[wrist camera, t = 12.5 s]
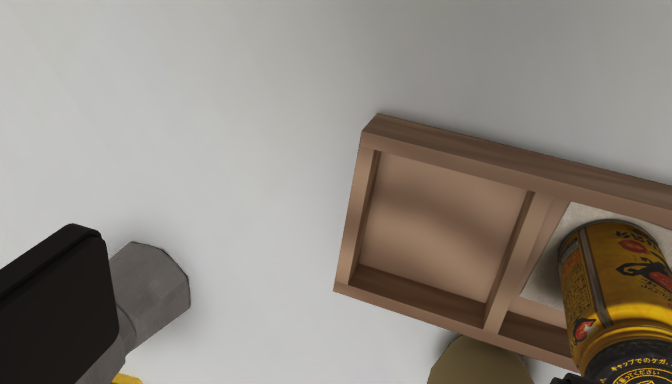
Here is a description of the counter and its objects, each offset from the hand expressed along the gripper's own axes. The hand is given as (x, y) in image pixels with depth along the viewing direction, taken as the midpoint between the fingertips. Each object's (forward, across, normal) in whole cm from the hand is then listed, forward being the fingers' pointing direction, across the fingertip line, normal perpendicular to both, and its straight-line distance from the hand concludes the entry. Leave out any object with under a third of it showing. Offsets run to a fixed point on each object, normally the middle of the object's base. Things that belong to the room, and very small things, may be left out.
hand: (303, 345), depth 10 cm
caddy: (+25, -7, +11) cm, 28 cm away
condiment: (+24, -13, +11) cm, 30 cm away
